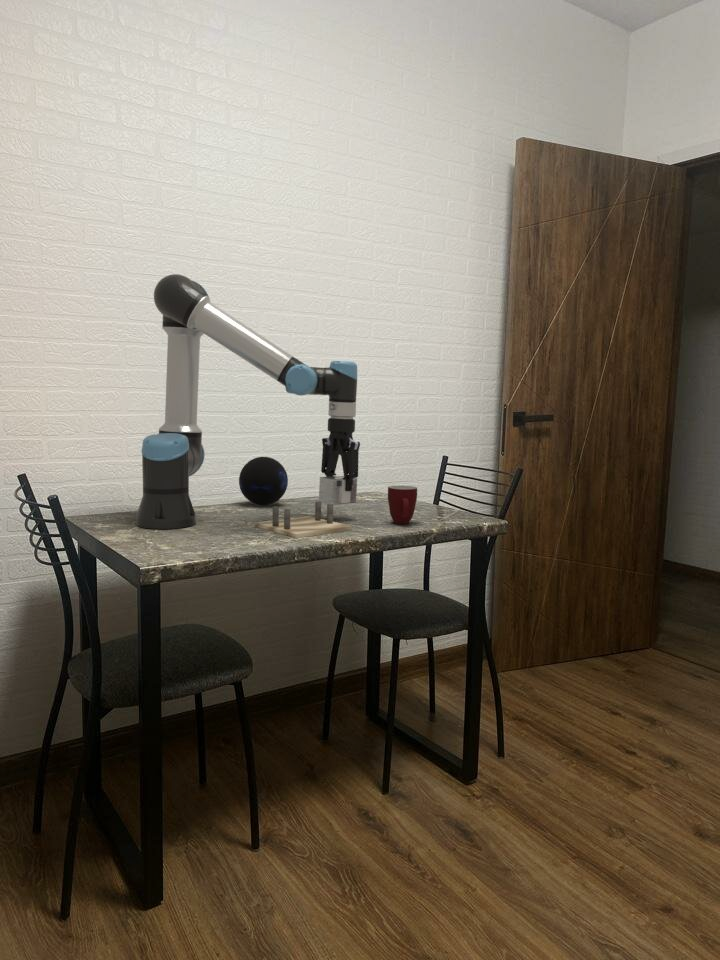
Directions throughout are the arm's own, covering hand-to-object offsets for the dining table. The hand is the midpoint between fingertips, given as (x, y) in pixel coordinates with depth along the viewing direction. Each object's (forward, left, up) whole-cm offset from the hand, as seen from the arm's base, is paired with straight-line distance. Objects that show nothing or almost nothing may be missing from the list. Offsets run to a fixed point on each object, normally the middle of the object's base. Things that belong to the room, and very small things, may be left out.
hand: (338, 500), depth 204 cm
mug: (+15, +10, -6) cm, 19 cm away
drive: (0, 0, 0) cm, 0 cm away
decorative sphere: (-33, -3, -6) cm, 33 cm away
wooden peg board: (+4, -16, -5) cm, 17 cm away
